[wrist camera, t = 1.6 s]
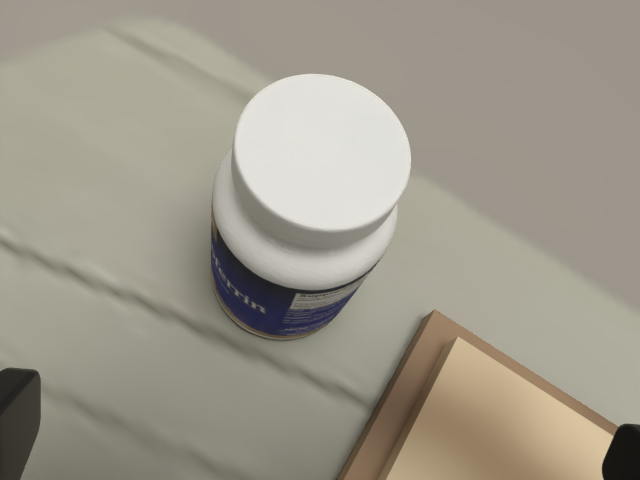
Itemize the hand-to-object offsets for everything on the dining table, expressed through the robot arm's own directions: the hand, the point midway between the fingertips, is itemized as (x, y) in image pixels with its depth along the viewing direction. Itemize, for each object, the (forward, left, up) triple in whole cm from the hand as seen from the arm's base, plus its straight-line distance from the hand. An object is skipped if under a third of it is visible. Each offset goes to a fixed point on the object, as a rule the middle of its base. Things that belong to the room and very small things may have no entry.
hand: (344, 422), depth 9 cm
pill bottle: (+4, +6, -13) cm, 15 cm away
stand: (+7, -5, -13) cm, 16 cm away
